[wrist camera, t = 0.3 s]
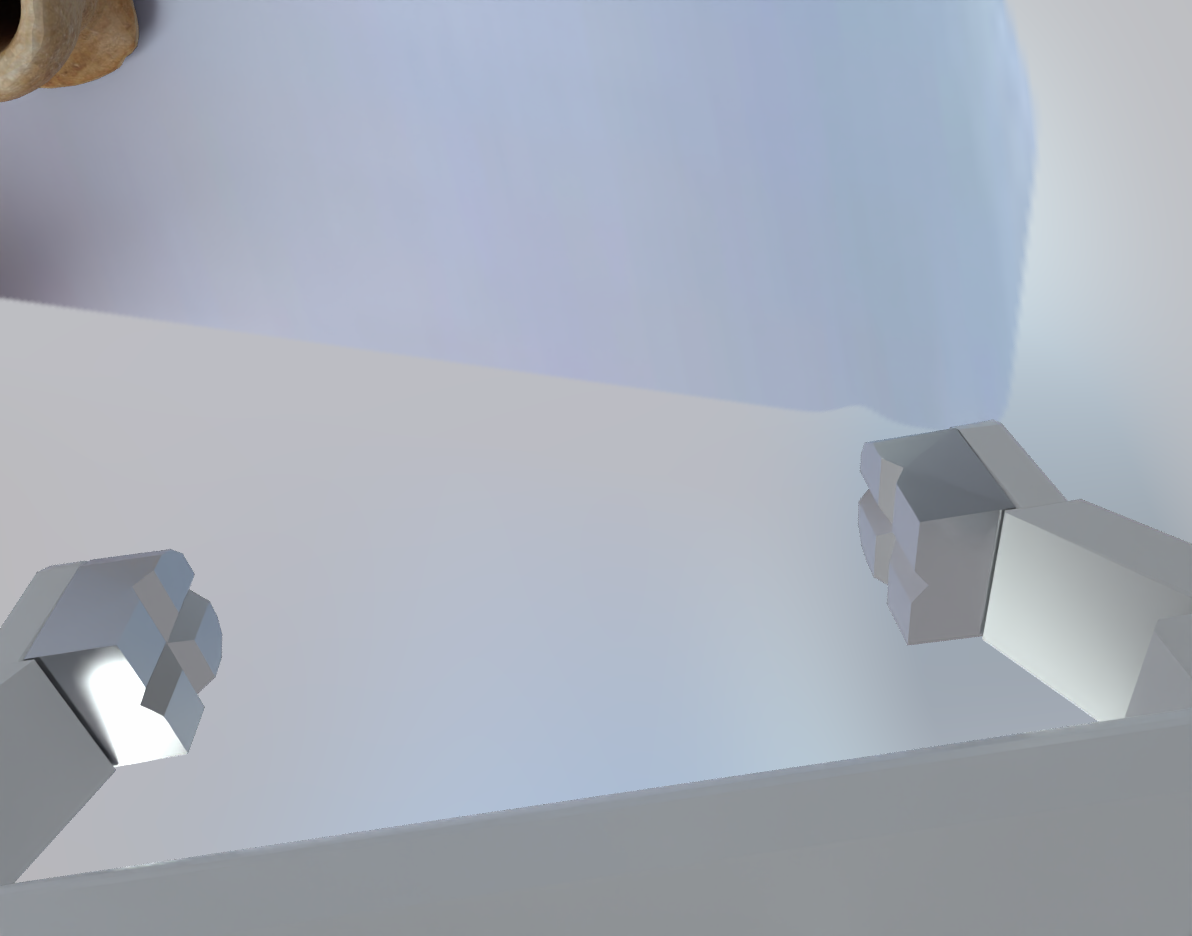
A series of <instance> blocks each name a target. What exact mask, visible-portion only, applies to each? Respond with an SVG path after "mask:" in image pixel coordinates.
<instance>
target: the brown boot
mask: <svg viewBox="0 0 1192 936" xmlns="http://www.w3.org/2000/svg"><path fill="white" fill-rule="evenodd" d="M138 39H139V26H138V20H137V15H136V11H135V7H134V4H133V0H0V102H5V101H9V100H13V99H16V98H19V97H22V96H24V95H26V94H28V93H30V92H32V91H34V90H36V89H37V88H58V87H66V86H75V85H79V84H83V83H86V82H90V81H93V80H96V79H99V78H101V77H103V76H105V75H107V74H109V73H111V72H113V71H115V70H116V69H118V68H119V67H120V66H121V65H122V63H123V61H124V59H125V58H126V57H127V56H128V55H130V54H131V53H132V52H133V51H134V50H135V48H136V47H137V44H138Z"/></svg>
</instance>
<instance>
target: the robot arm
mask: <svg viewBox="0 0 1192 936" xmlns="http://www.w3.org/2000/svg"><path fill="white" fill-rule="evenodd" d="M860 464H861V465H860V472H861V474H862V476H863V478H864V480H865V482H866V484H867V486H868V487H869V489H868V490H867V492H866V493H865V494H864V495H863V497H862V498H861V499H860V501H859V503H858V504H859V505H858V525H859V533H860V539H861V546H862V549H863V552H864V555H865V558H866V562H867V564H868V566H869V568H870V570H871V572H872V574H873V576H874V578H877V579H878V580H880V581H882V582H883V583H885V584H887V585H888V593H887V605H888V607H889V609H890V611H891V613H892V615H893V617H894V619H895V621H896V623H897V625H898V627H899V629H900V631H901V633H902V635H903V637H904V639H905V641H906V643H907V645H914V644H922V643H930V642H939V641H946V640H955V639H963V638H971V637H979V636H983V640H984V641H985V642H987V643H988V644H990V645H991V646H993V647H994V648H995V649H997V650H998V651H1000V652H1001V653H1002V654H1004V655H1005V656H1007V657H1008V658H1009V659H1011V660H1012V661H1014V662H1015V663H1016V664H1018V665H1019V666H1021V667H1022V668H1024V669H1025V670H1026V671H1028V672H1029V673H1031V674H1032V675H1033V676H1035V677H1036V678H1038V679H1039V680H1040V681H1042V682H1043V683H1045V684H1046V685H1048V686H1049V687H1050V688H1052V689H1053V690H1055V691H1056V692H1057V693H1059V694H1061V695H1062V696H1063V697H1064V698H1066V699H1067V700H1069V701H1070V702H1072V703H1073V704H1074V705H1076V706H1077V707H1079V708H1080V709H1082V710H1083V711H1084V712H1086V713H1087V714H1088V715H1090V716H1091V717H1093V718H1094V719H1096V720H1097V721H1098V722H1094V723H1088V724H1081V725H1073V726H1067V727H1060V728H1053V729H1047V730H1040V731H1033V732H1026V733H1020V734H1013V735H1006V736H1000V737H993V738H987V739H980V740H973V741H967V742H960V743H954V744H947V745H941V746H934V747H928V748H920V749H914V750H907V751H900V752H894V753H887V754H880V755H875V756H867V757H861V758H854V759H847V760H841V761H833V762H827V763H820V764H814V765H806V766H799V767H793V768H787V769H779V770H772V771H766V772H760V773H753V774H745V775H738V776H732V777H725V778H718V779H711V780H704V781H698V782H692V783H684V784H677V785H671V786H664V787H657V788H650V789H643V790H637V791H630V792H624V793H617V794H610V795H603V796H596V797H589V798H583V799H576V800H570V801H563V802H556V803H550V804H543V805H536V806H530V807H523V808H516V809H509V810H503V811H497V812H490V813H482V814H476V815H470V816H462V817H456V818H450V819H442V820H436V821H429V822H423V823H415V824H409V825H402V826H395V827H389V828H382V829H375V830H369V831H362V832H355V833H349V834H342V835H335V836H329V837H322V838H315V839H308V840H302V841H295V842H288V843H282V844H275V845H269V846H261V847H255V848H249V849H242V850H235V851H228V852H221V853H215V854H208V855H202V856H195V857H188V858H181V859H174V860H168V861H161V862H154V863H148V864H141V865H134V866H127V867H120V868H114V869H108V870H100V871H94V872H87V873H81V874H74V875H67V876H60V877H54V878H47V879H40V880H34V881H27V882H20V883H15V881H16V880H17V879H18V878H19V877H20V876H21V875H22V873H24V871H25V870H26V869H27V868H28V867H29V866H30V865H31V864H32V863H33V862H34V860H35V859H36V858H37V857H38V856H39V855H40V854H41V853H42V851H44V849H45V848H46V847H47V846H48V845H49V844H50V843H51V842H52V840H53V839H54V838H55V837H56V836H57V835H58V834H59V833H60V831H62V830H63V828H64V827H65V826H66V825H67V824H68V823H69V822H70V821H71V820H72V818H73V817H74V816H75V815H76V814H77V813H78V812H79V811H80V810H81V809H82V807H83V806H84V805H85V804H86V803H87V802H88V801H89V800H90V799H91V797H92V796H93V795H94V794H95V793H96V792H97V791H98V790H99V789H100V788H101V786H102V785H103V784H104V783H105V782H106V781H107V780H108V779H109V778H110V776H111V775H112V774H113V773H114V772H115V771H116V769H115V768H114V767H117V766H122V765H128V764H133V763H139V762H145V761H150V760H156V759H162V758H167V757H173V756H179V755H184V754H188V752H189V749H190V747H191V744H192V741H193V738H194V736H195V733H196V730H197V727H198V724H199V722H200V719H201V716H202V713H203V711H204V708H205V707H204V705H203V703H202V702H201V700H200V698H199V697H198V695H197V694H198V693H199V692H200V691H201V690H202V689H203V688H204V687H205V686H207V685H208V684H209V683H210V682H211V681H212V680H213V679H214V678H215V677H216V674H217V671H218V668H219V664H220V661H221V658H222V632H221V628H220V624H219V621H218V617H217V615H216V613H215V611H214V609H213V607H212V605H211V603H210V601H208V600H207V599H205V598H203V597H201V596H200V595H198V594H196V593H195V592H193V591H191V590H190V586H191V584H192V581H193V578H194V575H195V574H194V572H193V570H192V568H191V567H190V565H189V564H188V562H187V560H186V559H185V557H184V555H183V554H182V553H180V552H177V551H174V550H171V549H168V550H161V551H153V552H146V553H138V554H131V555H123V556H116V557H108V558H101V559H93V560H90V561H80V562H73V563H67V564H61V565H53V566H49V567H47V568H45V569H43V570H41V571H39V572H37V573H36V575H35V576H34V578H33V580H32V581H31V582H30V584H29V585H28V587H27V588H26V590H25V591H24V593H23V594H22V596H21V597H20V599H19V601H18V602H17V604H16V605H15V607H14V608H13V610H12V611H11V613H10V614H9V616H8V617H7V619H6V620H5V622H4V623H3V625H2V626H1V628H0V936H1192V544H1191V543H1189V542H1186V541H1184V540H1181V539H1179V538H1176V537H1174V536H1171V535H1169V534H1166V533H1163V532H1162V531H1159V530H1157V529H1154V528H1152V527H1149V526H1147V525H1144V524H1142V523H1139V522H1137V521H1134V520H1132V519H1129V518H1127V517H1124V516H1122V515H1119V514H1117V513H1114V512H1112V511H1110V510H1107V509H1105V508H1102V507H1099V506H1097V505H1095V504H1092V503H1090V502H1087V501H1085V500H1082V499H1079V500H1071V501H1067V499H1066V498H1065V497H1064V496H1063V495H1062V493H1061V492H1060V491H1059V490H1058V489H1057V488H1056V486H1055V485H1054V484H1053V483H1052V482H1051V481H1050V480H1049V478H1048V477H1047V476H1046V475H1045V473H1044V472H1043V471H1042V470H1041V469H1040V468H1039V467H1038V465H1037V464H1036V463H1035V462H1034V461H1033V459H1032V458H1031V457H1030V456H1029V455H1028V454H1027V452H1026V451H1025V450H1024V449H1023V448H1022V447H1021V445H1020V444H1019V443H1018V442H1017V441H1016V440H1015V439H1014V437H1013V436H1012V435H1011V434H1010V433H1009V431H1008V430H1007V429H1006V428H1005V427H1004V425H1003V424H1002V423H1000V422H998V421H995V420H988V421H983V422H977V423H972V424H966V425H961V426H955V427H950V429H946V430H940V431H934V432H928V433H921V434H915V435H909V436H903V437H897V438H890V439H884V440H878V441H872V442H866V443H864V446H863V449H862V452H861V463H860Z"/></svg>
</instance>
